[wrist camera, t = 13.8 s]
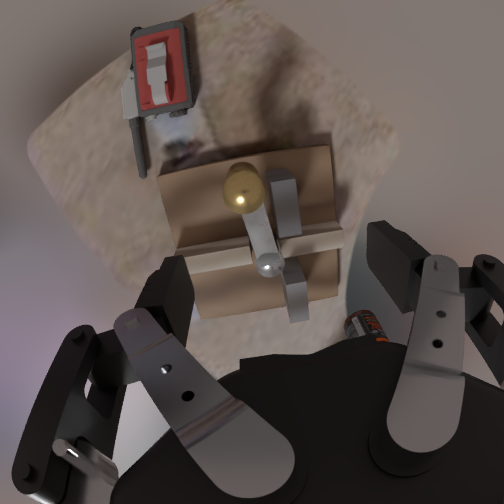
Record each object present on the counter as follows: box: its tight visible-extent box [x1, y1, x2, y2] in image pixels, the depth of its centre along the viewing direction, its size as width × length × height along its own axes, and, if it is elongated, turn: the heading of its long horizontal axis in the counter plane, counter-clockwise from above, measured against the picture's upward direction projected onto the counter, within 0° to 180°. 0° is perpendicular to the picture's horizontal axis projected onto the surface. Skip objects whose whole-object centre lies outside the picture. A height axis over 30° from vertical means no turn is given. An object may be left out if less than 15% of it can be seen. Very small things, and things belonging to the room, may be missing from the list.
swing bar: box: [223, 162, 285, 277], centre depth 27 cm, size 13×3×7 cm, turn 17°
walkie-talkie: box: [121, 21, 195, 179], centre depth 27 cm, size 9×4×20 cm
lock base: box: [156, 144, 344, 323], centre depth 34 cm, size 22×21×8 cm
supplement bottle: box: [344, 310, 389, 342], centre depth 41 cm, size 6×6×11 cm
